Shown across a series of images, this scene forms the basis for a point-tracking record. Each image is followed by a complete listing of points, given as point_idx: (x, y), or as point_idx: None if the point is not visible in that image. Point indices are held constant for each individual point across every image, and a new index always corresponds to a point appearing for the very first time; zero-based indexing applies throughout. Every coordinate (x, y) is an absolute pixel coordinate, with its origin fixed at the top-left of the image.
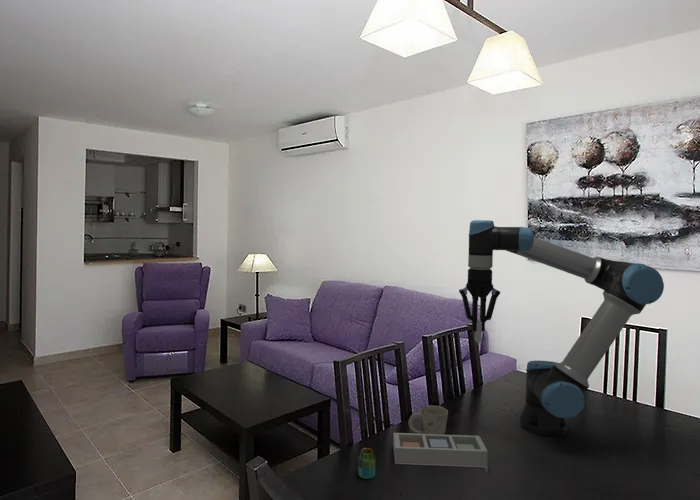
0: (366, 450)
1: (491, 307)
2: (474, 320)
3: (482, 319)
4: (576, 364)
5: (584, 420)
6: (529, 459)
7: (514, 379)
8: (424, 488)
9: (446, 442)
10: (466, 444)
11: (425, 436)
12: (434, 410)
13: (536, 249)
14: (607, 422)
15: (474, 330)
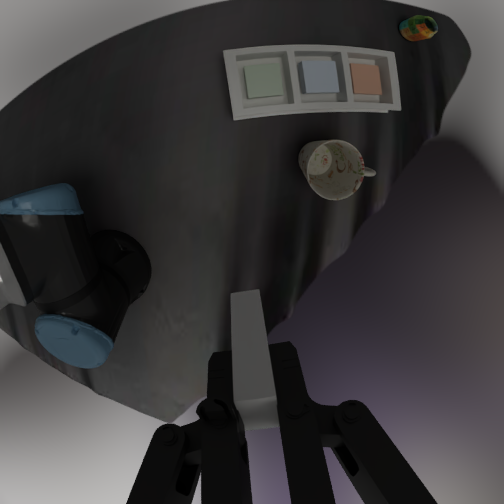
0: (431, 32)
1: None
2: (302, 405)
3: (228, 425)
4: None
5: None
6: (142, 126)
7: (170, 407)
8: (329, 5)
9: (305, 80)
10: (262, 95)
11: (346, 101)
12: (331, 194)
13: None
14: None
15: (282, 346)
